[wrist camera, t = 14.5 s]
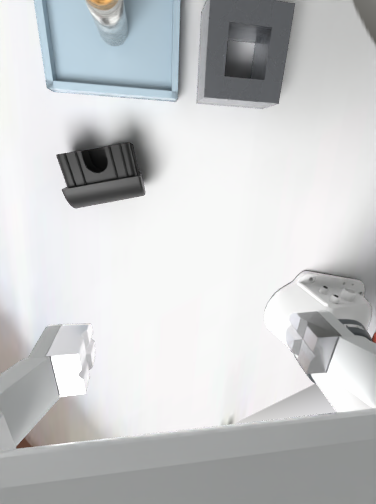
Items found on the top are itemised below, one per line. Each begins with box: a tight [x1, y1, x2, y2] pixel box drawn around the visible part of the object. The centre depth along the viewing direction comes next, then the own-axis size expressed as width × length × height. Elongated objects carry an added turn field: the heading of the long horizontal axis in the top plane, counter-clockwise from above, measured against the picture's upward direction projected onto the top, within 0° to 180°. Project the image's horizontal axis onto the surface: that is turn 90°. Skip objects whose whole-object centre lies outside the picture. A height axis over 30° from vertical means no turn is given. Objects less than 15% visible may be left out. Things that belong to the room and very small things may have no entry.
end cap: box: [56, 142, 145, 208], centre depth 34 cm, size 10×7×7 cm
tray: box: [34, 0, 180, 102], centre depth 30 cm, size 16×14×2 cm
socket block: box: [197, 0, 295, 109], centre depth 32 cm, size 10×10×5 cm
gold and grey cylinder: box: [85, 0, 128, 46], centre depth 25 cm, size 4×4×11 cm
